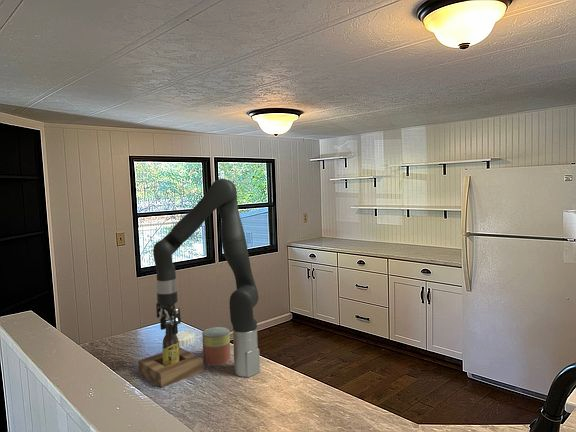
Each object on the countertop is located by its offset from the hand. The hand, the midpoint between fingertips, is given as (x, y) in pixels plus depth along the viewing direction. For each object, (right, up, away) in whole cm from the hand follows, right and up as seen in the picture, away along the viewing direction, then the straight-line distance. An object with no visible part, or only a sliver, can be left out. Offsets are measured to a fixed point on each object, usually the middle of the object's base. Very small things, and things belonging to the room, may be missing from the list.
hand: (169, 331), depth 166 cm
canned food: (+17, -15, +12) cm, 25 cm away
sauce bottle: (+1, -16, +1) cm, 17 cm away
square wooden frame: (0, -16, +1) cm, 16 cm away
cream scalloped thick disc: (-3, -14, +33) cm, 36 cm away
